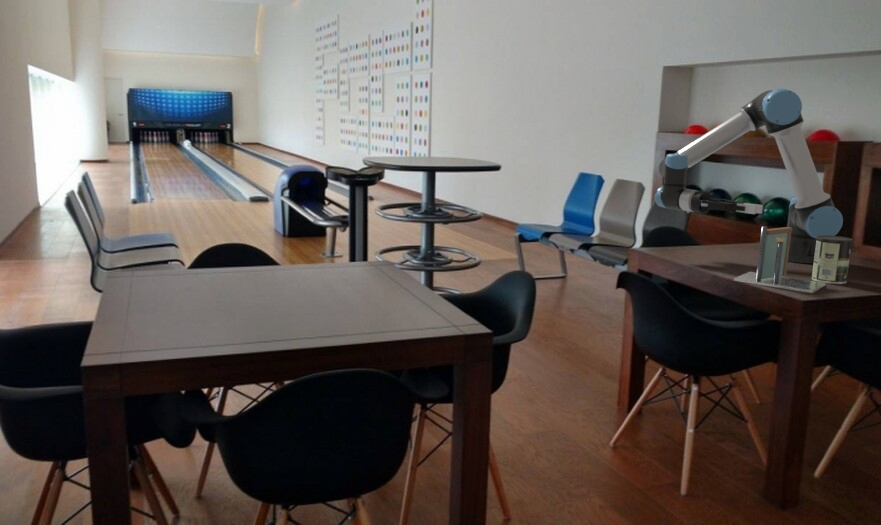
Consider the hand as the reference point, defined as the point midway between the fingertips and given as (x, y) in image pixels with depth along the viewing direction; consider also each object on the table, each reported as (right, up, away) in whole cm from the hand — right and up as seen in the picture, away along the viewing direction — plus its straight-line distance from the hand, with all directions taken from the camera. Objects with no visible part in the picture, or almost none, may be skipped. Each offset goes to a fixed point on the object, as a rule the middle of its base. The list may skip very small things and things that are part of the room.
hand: (758, 209), depth 237 cm
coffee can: (+23, -23, +2) cm, 33 cm away
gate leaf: (+3, -21, -2) cm, 22 cm away
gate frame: (+5, -23, -4) cm, 24 cm away
